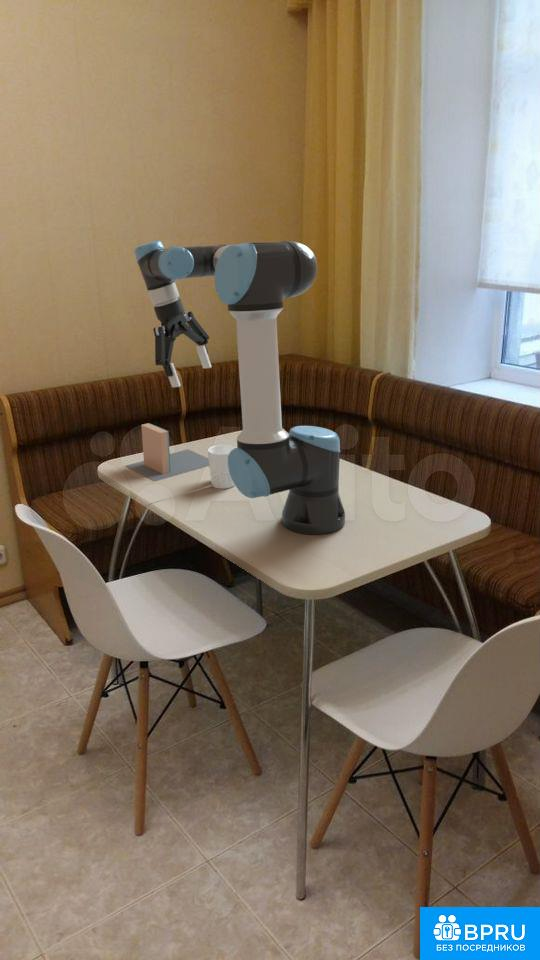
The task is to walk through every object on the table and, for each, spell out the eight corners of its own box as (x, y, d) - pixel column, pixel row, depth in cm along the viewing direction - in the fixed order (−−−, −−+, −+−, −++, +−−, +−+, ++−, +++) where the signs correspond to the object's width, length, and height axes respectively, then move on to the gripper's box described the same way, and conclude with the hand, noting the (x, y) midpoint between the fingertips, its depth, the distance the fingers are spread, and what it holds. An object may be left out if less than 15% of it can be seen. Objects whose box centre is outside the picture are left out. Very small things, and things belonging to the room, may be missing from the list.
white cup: (225, 492, 200) (224, 456, 196) (203, 485, 204) (201, 450, 201) (244, 483, 206) (243, 448, 202) (222, 477, 210) (221, 442, 206)
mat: (154, 483, 206) (154, 481, 206) (124, 467, 217) (124, 465, 217) (219, 464, 219) (219, 462, 219) (187, 451, 230) (187, 449, 230)
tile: (163, 474, 211) (160, 433, 206) (144, 464, 218) (141, 424, 213) (170, 472, 212) (168, 431, 208) (151, 462, 219) (148, 423, 215)
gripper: (186, 289, 210) (209, 361, 219) (124, 318, 193) (152, 395, 201) (205, 285, 206) (229, 359, 214) (144, 315, 189) (172, 394, 197)
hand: (192, 377), depth 208 cm, fingers open, 13 cm apart
